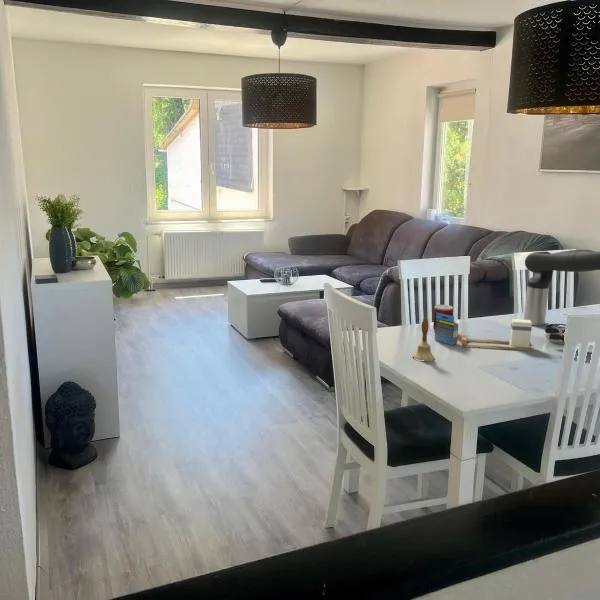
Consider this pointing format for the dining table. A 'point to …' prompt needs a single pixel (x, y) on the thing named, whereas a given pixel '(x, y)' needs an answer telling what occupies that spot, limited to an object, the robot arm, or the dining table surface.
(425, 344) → the hand bell
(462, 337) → the wooden rail channel
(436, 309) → the canned food
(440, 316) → the label tape cartridge
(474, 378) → the dining table surface
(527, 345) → the block
